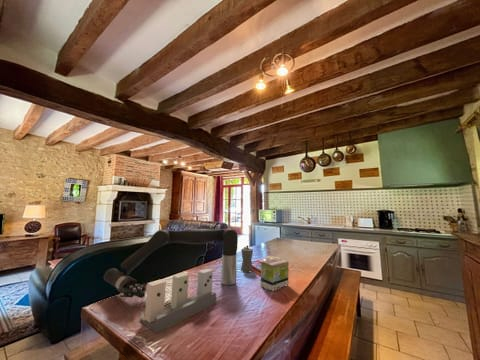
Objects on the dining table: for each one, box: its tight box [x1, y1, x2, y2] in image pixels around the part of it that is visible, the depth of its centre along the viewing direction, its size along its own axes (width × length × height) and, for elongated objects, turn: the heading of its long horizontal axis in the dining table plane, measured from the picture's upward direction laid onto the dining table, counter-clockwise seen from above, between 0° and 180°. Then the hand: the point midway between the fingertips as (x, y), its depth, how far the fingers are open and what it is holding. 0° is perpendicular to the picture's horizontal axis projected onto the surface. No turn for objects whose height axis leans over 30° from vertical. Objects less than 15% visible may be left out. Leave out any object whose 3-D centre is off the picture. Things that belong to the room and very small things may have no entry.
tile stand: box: [139, 291, 217, 334], centre depth 91 cm, size 13×31×5 cm, turn 141°
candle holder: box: [265, 255, 281, 261], centre depth 141 cm, size 10×10×12 cm
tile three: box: [196, 268, 213, 298], centre depth 100 cm, size 4×6×14 cm
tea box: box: [260, 258, 289, 292], centre depth 122 cm, size 15×10×15 cm
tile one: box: [144, 278, 166, 323], centre depth 84 cm, size 4×6×14 cm
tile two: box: [170, 272, 190, 309], centre depth 93 cm, size 4×6×14 cm
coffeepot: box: [240, 245, 254, 273], centre depth 153 cm, size 15×9×18 cm, turn 13°
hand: (142, 295), depth 90 cm, fingers closed
